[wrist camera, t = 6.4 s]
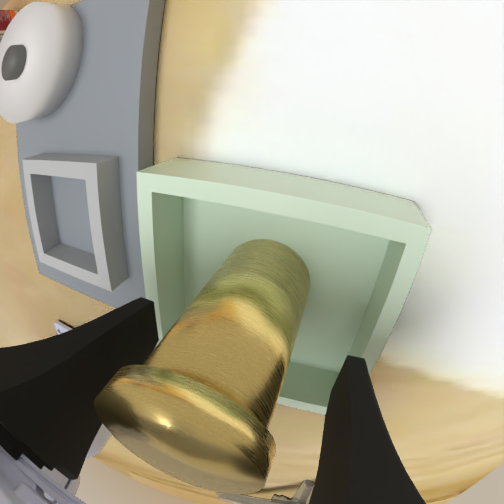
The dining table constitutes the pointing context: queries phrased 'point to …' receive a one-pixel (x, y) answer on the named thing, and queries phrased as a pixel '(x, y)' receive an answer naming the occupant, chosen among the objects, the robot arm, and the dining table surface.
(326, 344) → the tray
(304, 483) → the caliper
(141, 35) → the board
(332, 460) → the robot arm
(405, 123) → the dining table surface
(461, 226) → the dining table surface
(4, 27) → the pill bottle
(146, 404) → the lock pin
